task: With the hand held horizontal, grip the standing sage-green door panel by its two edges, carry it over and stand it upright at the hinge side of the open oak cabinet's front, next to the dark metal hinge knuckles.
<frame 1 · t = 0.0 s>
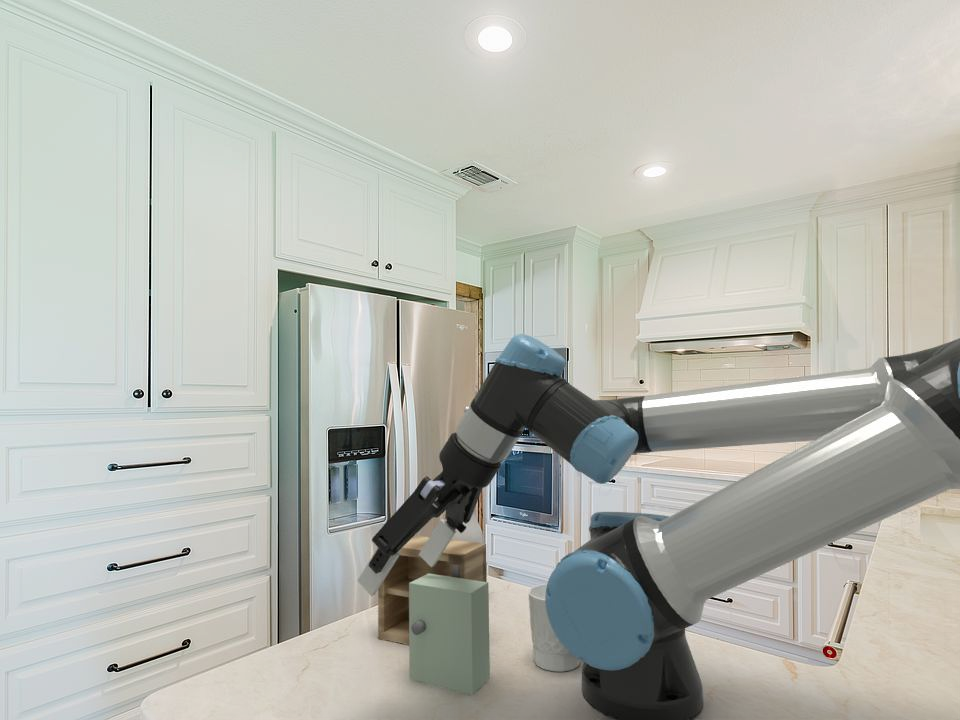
hand: (398, 573, 75), 15 cm above the countertop, tool tilted 35°, fingers open, 13 cm apart
milk bottle: (465, 601, 109), on the countertop
cabinet: (432, 638, 91), on the countertop
door panel: (449, 679, 77), on the countertop
white cup: (556, 663, 82), on the countertop
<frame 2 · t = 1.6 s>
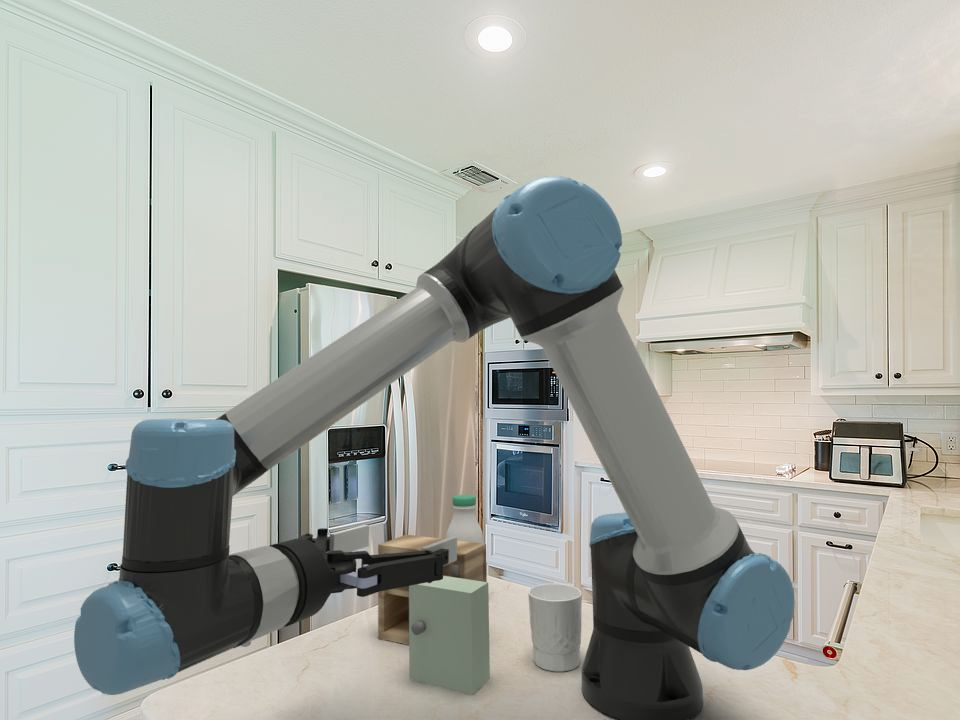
hand: (408, 541, 71), 21 cm above the countertop, tool horizontal, fingers open, 13 cm apart
nothing on the countertop moved.
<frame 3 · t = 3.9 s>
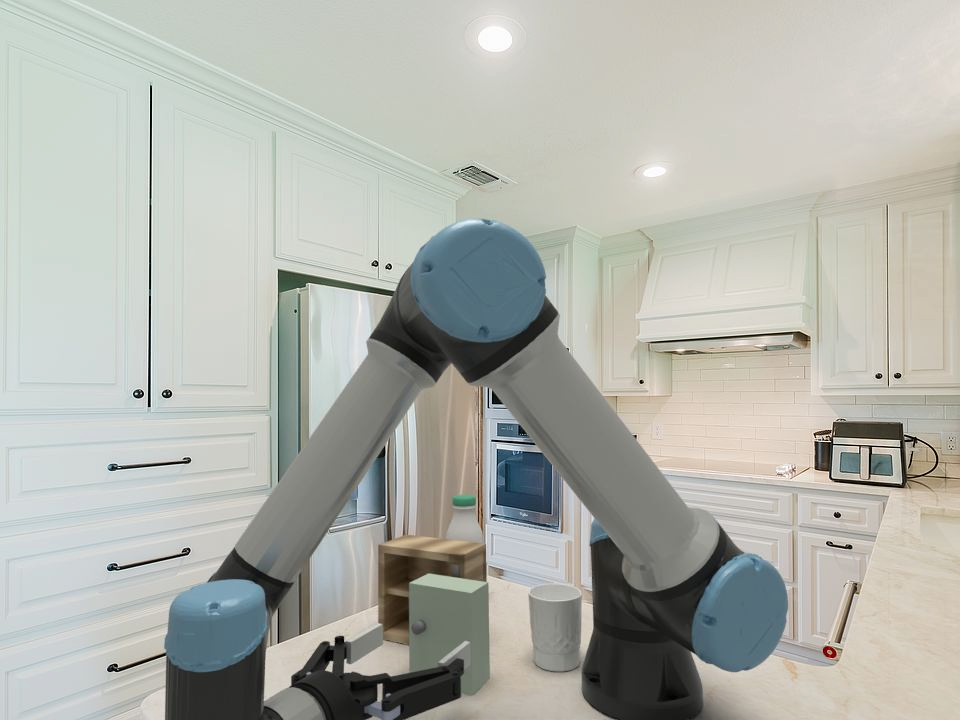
hand: (422, 642, 73), 7 cm above the countertop, tool horizontal, fingers open, 13 cm apart
nothing on the countertop moved.
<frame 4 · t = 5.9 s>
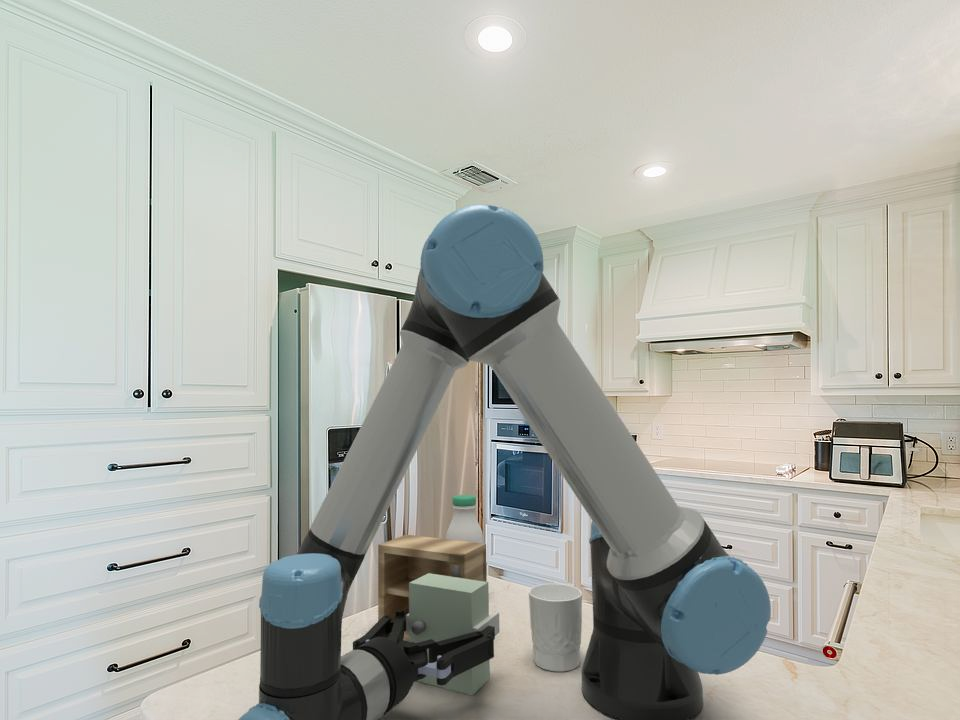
hand: (464, 615, 82), 7 cm above the countertop, tool horizontal, fingers closed on door panel, 10 cm apart
door panel: (449, 678, 77), on the countertop, touching gripper
everything else where it was.
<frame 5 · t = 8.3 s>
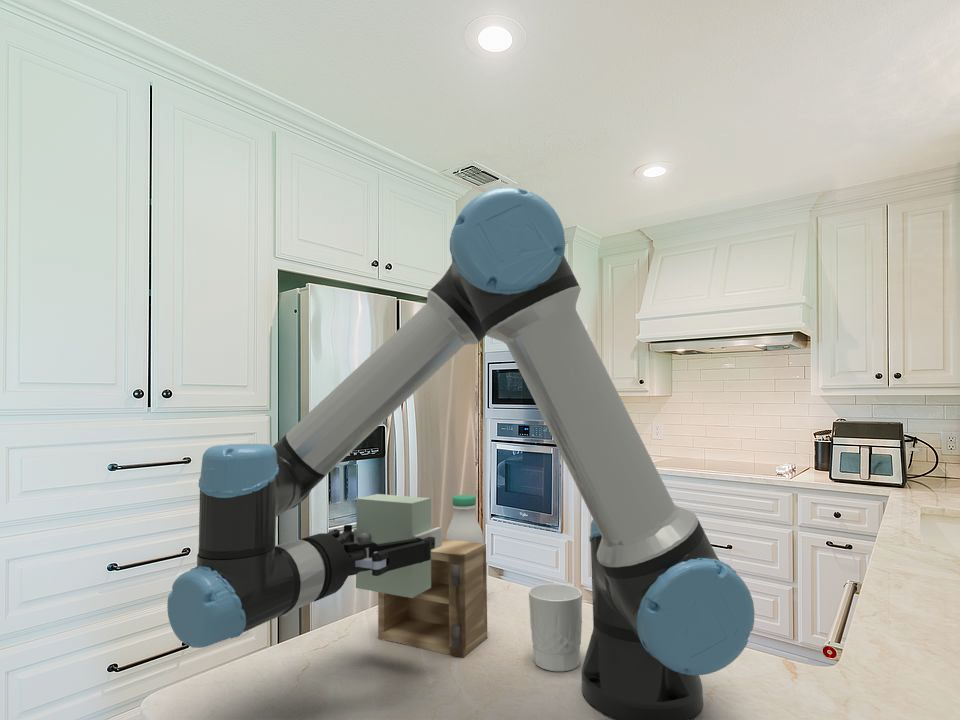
hand: (410, 533, 87), 18 cm above the countertop, tool horizontal, fingers closed on door panel, 10 cm apart
door panel: (393, 587, 82), point 11 cm above the countertop, touching gripper
everything else where it was.
when the fingers open (8 cm above the countertop, at t = 10.7 s): door panel stays where it is, on the countertop.
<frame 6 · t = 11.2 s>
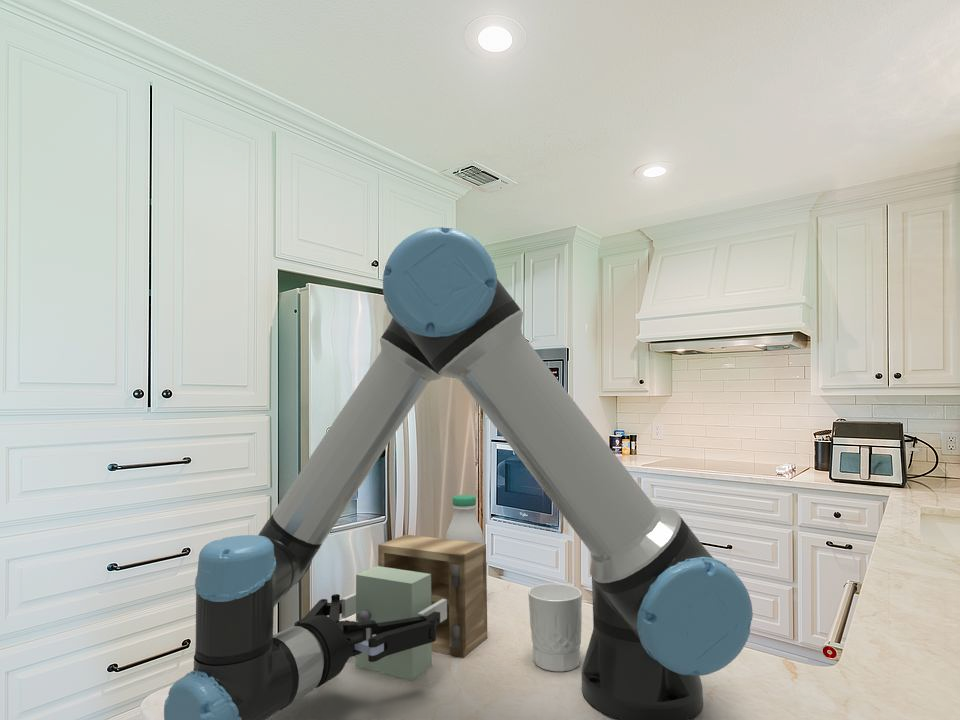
hand: (406, 601, 85), 8 cm above the countertop, tool horizontal, fingers open, 13 cm apart
door panel: (393, 665, 82), on the countertop
everything else where it was.
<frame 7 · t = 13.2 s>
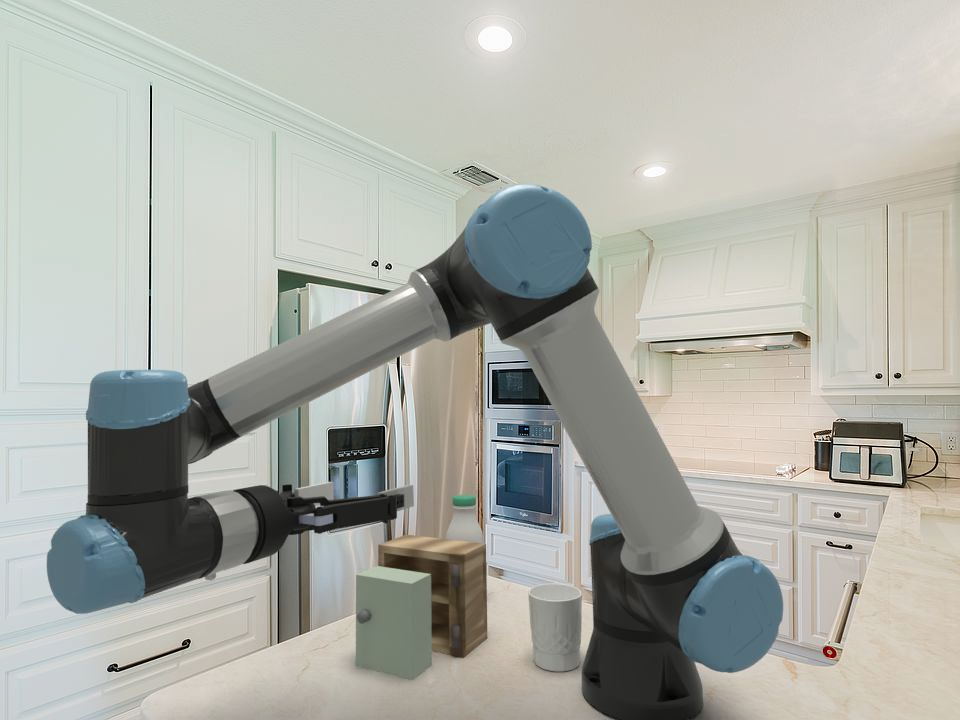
hand: (369, 493, 75), 26 cm above the countertop, tool horizontal, fingers open, 13 cm apart
nothing on the countertop moved.
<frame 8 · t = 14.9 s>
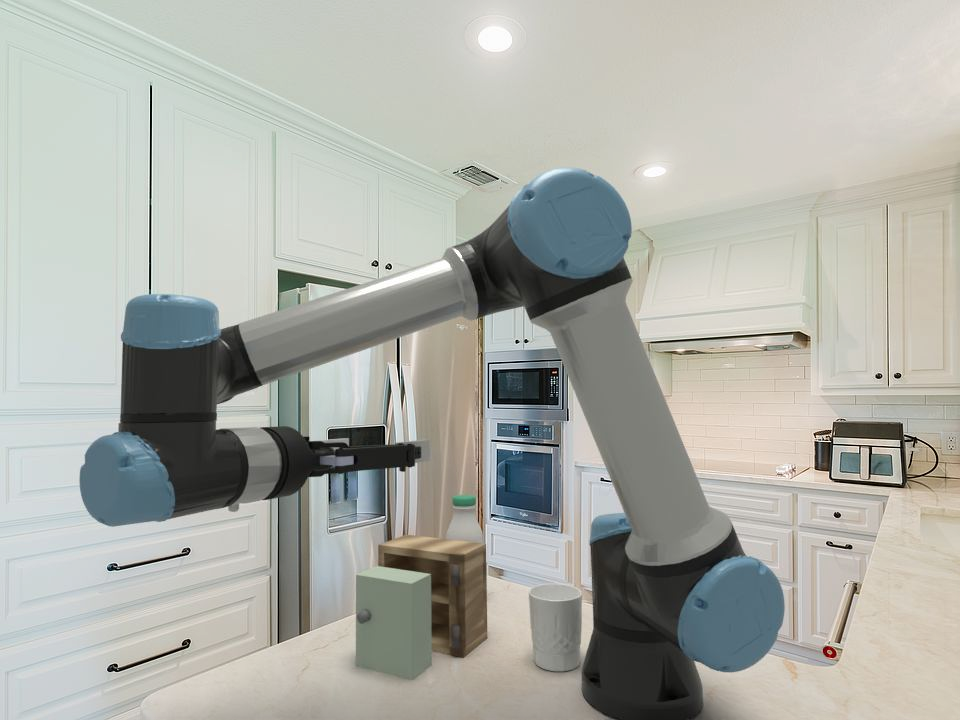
hand: (385, 448, 76), 32 cm above the countertop, tool horizontal, fingers open, 13 cm apart
nothing on the countertop moved.
at the end: door panel inside the target area on the countertop beside the cabinet (0.1 cm from its centre), on the countertop; door panel tilted 0°; the gripper is holding nothing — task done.
